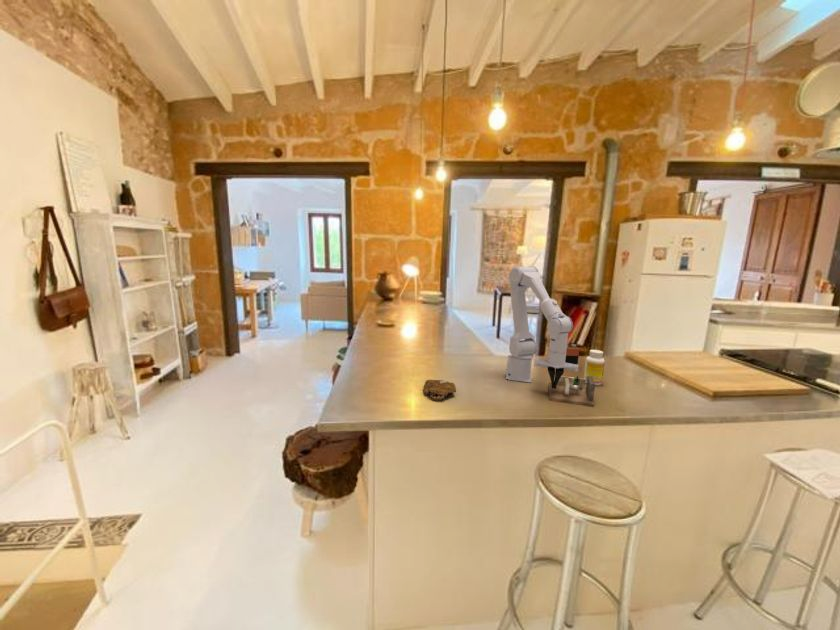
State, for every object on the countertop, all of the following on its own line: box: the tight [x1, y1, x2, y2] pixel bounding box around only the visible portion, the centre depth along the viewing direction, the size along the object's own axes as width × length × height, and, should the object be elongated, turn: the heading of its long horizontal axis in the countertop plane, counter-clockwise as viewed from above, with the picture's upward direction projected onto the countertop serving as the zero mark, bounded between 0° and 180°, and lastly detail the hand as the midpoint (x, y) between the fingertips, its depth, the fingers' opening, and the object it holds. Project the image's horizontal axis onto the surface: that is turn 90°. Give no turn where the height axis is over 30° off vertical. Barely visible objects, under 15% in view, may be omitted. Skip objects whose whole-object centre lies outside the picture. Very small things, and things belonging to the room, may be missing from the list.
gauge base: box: [548, 375, 596, 407], centre depth 134 cm, size 14×15×7 cm
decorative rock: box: [423, 379, 457, 401], centre depth 132 cm, size 11×4×15 cm
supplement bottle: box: [583, 349, 606, 386], centre depth 146 cm, size 7×7×13 cm
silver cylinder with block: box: [564, 376, 582, 395], centre depth 134 cm, size 6×10×4 cm, turn 162°
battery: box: [565, 343, 580, 366], centre depth 166 cm, size 4×7×10 cm, turn 93°
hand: (553, 387), depth 135 cm, fingers closed
